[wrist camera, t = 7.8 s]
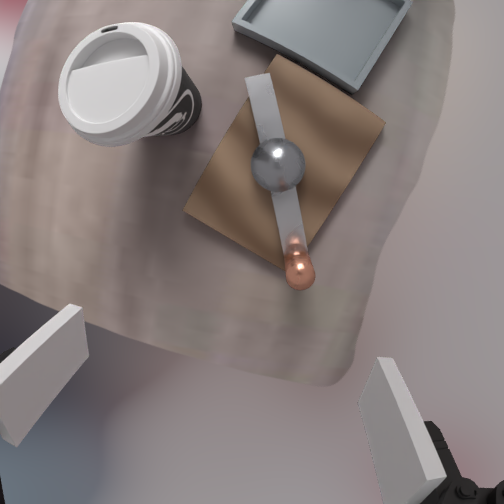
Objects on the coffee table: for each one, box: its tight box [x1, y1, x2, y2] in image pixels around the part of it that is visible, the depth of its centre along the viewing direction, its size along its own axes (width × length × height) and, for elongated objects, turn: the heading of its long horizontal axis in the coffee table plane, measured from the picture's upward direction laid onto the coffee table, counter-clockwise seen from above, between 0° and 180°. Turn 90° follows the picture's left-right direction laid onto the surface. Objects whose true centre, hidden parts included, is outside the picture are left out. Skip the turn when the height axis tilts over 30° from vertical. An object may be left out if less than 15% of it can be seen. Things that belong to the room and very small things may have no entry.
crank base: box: [182, 54, 386, 272], centre depth 31 cm, size 19×13×2 cm
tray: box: [232, 0, 413, 95], centre depth 25 cm, size 14×14×2 cm
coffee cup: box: [58, 22, 201, 147], centre depth 24 cm, size 10×10×15 cm
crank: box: [245, 73, 315, 290], centre depth 27 cm, size 19×5×7 cm, turn 12°
